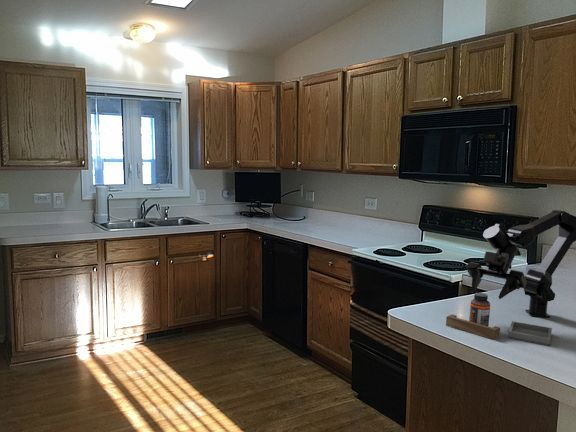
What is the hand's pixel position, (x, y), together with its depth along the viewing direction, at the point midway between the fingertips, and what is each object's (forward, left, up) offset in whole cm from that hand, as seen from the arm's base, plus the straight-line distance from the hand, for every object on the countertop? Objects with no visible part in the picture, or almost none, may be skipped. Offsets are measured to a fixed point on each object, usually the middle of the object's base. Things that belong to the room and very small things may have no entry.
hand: (485, 294), depth 163 cm
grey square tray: (+7, +12, -10) cm, 18 cm away
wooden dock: (+6, -5, -10) cm, 13 cm away
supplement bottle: (+3, -2, -11) cm, 11 cm away
